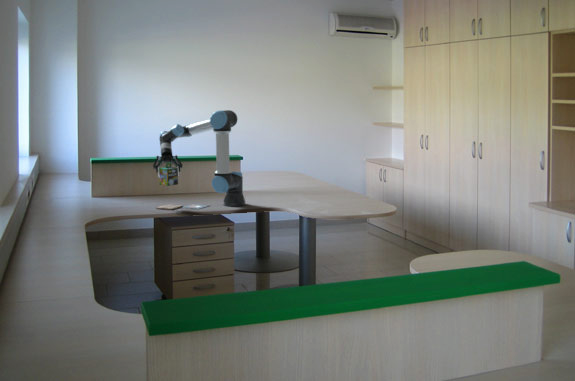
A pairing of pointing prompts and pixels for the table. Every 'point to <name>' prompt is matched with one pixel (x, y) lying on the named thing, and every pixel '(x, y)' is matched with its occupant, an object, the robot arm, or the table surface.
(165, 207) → the walnut board
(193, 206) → the plate
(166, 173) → the chalk box
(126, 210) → the table surface
